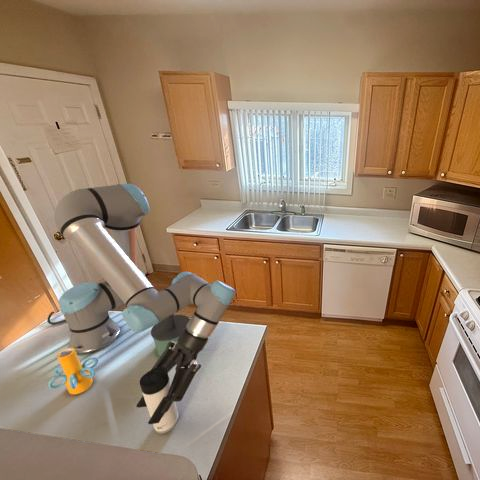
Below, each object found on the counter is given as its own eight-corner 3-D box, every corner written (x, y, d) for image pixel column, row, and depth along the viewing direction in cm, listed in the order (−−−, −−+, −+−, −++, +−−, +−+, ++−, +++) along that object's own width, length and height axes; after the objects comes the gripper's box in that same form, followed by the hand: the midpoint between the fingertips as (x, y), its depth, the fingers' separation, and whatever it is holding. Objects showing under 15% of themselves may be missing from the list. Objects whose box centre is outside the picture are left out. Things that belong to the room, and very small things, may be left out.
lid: (147, 327, 97) (141, 308, 93) (184, 312, 106) (180, 294, 102) (156, 348, 88) (151, 327, 85) (196, 330, 97) (193, 310, 93)
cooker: (153, 345, 100) (148, 326, 97) (186, 330, 109) (183, 312, 105) (162, 364, 92) (157, 345, 89) (197, 347, 101) (194, 328, 97)
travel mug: (163, 439, 70) (148, 391, 61) (149, 425, 72) (133, 378, 64) (184, 419, 75) (172, 372, 66) (170, 407, 78) (158, 360, 69)
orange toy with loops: (112, 372, 89) (99, 340, 83) (88, 401, 79) (72, 367, 73) (75, 372, 88) (60, 339, 82) (46, 401, 78) (27, 366, 72)
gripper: (226, 350, 71) (177, 436, 66) (189, 320, 81) (144, 392, 76) (206, 348, 65) (151, 442, 59) (169, 315, 75) (118, 393, 69)
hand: (147, 414), depth 68 cm, fingers closed on travel mug, 6 cm apart
